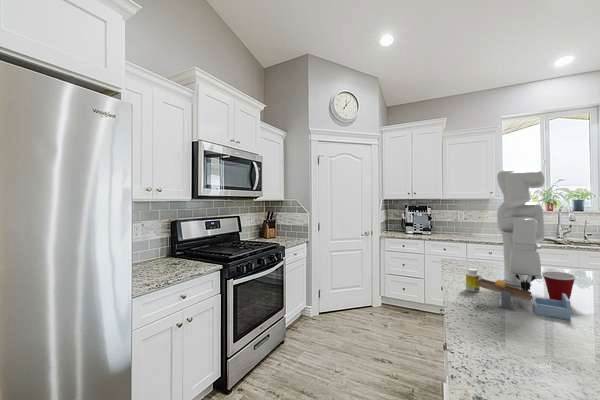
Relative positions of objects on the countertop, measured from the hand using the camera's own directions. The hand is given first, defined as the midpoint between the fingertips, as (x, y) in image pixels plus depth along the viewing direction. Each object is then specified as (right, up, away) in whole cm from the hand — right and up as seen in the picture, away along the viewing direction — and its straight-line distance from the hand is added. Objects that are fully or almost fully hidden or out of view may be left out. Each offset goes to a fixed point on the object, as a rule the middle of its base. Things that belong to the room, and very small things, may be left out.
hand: (525, 291), depth 115 cm
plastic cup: (+16, -6, +2) cm, 17 cm away
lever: (-8, 0, +2) cm, 8 cm away
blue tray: (+2, -5, -9) cm, 11 cm away
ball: (-11, +3, 0) cm, 11 cm away
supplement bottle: (-10, -6, +19) cm, 22 cm away
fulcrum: (-9, -6, -1) cm, 11 cm away
